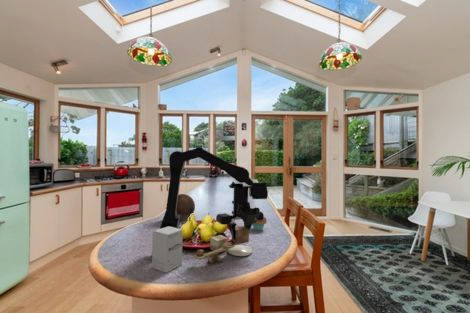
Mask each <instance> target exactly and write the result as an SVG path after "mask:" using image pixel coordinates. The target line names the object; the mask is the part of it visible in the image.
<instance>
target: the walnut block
mask: <svg viewBox="0 0 470 313" xmlns="http://www.w3.org/2000/svg"><path fill="white" fill-rule="evenodd" d="M231 241H233V243H235V244H236V245H242V244H248V243H249V242H250V231H249V229H247V228H245V227H244V225H240V226H236V227H235V240H234V239H233V238H232V237H231Z"/></svg>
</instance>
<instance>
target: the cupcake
mask: <svg viewBox="0 0 470 313" xmlns="http://www.w3.org/2000/svg"><path fill="white" fill-rule="evenodd" d="M254 208H257V207H256V206H254ZM255 220H256V221H257V222H255V223H254V224H253V225H252V228H253V230H254V231H262V230H264V226H265V224H267V222H268V220H267V218H266V217H265V216H264V219H263V220H257V219H256V218H255Z"/></svg>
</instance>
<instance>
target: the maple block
mask: <svg viewBox="0 0 470 313" xmlns="http://www.w3.org/2000/svg"><path fill="white" fill-rule="evenodd" d="M226 242H229V241H228V237H227V236H224V235H222V234H218V235H215V236H211V237H210V242H209V243H210V246H209V249H210V251H211V252H212V251H214V250H217V249H220V248H222V247H224V246H223V244H224V243H226ZM224 252H228V249H227V250H225V251H222V252H219V253H218V254H220V253H224Z"/></svg>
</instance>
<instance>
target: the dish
mask: <svg viewBox="0 0 470 313" xmlns="http://www.w3.org/2000/svg"><path fill="white" fill-rule="evenodd" d="M227 252H228V254H230V255H231V256H234V257H246V256H250V255H252V254H253V248H252V247H250V246H247V245H242V244H235V247H233V248H230V249H228V250H227Z"/></svg>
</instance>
